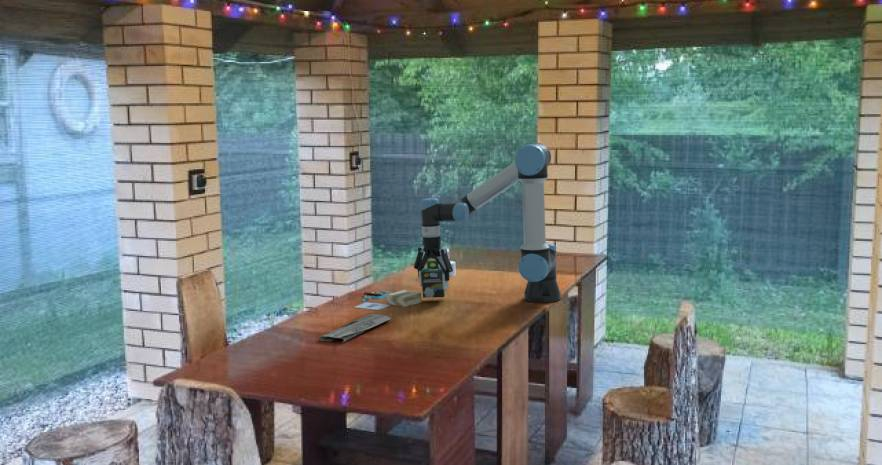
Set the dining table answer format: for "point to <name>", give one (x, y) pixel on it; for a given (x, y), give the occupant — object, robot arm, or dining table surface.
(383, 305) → the blueprint sheet
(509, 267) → the dining table surface
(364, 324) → the newspaper
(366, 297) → the gear mechanism
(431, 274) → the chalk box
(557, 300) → the robot arm
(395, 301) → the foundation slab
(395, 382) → the dining table surface
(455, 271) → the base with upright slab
